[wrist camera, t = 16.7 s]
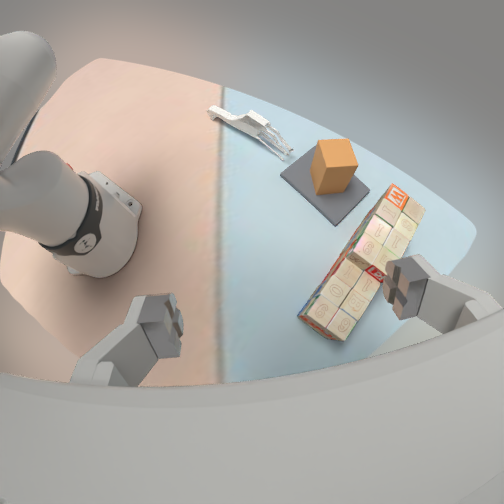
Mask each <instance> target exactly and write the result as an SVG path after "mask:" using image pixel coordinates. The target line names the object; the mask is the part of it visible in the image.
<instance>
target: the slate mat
mask: <svg viewBox="0 0 504 504" xmlns="http://www.w3.org/2000/svg"><path fill="white" fill-rule="evenodd" d="M316 146H317V145H316ZM316 146H314V147H313V148H312V149H310V150H309V151H308V152H307V153H305V154H304V155H303V156H302V157H300V158H299V159H298V160H297V161H295V162H294V163H293V164H292V165H290V166H289V167H288V168H287V169H285V170H284V171H283V172H282V173H281V174H280V176H281V177H282V178H283V179H284V180H285V181H287V182H288V183H289V184H290V185H291V186H292V187H293V188H294V189H296V190H297V191H298V192H299V193H300V194H301V195H302V196H303V197H304V198H305V199H306V200H308V201H309V202H310V203H311V204H312V205H313V206H314V207H315V208H316V209H317V210H318V211H319V212H320V213H321V214H322V215H324V216H325V217H326V218H327V219H328V220H329V221H330V222H331V223H332V224H333V225H334V226H336V225H337V224H338V223H339V222H340V221H341V220H342V219H343V218H344V217H345V216H346V215H347V214H348V213H349V212H350V211H351V210H352V209H353V208H354V207H355V206H356V205H357V204H358V202H359V201H360V200H361V199H362V198H363V197H364V196H365V195H366V194H367V193H368V192H369V191H370V189H369V188H368V187H367V186H366V185H364V184H363V183H362V182H361V181H360V180H359V179H358V178H357V177H356V176H355V175H354V174H353V176H352V178H351V180H350V182H349V183H348V185H347V187H346V189H345V190H344V192H343V193H334V194H324V195H316V193H315V189H314V185H313V181H312V177H311V174H310V168H311V164H312V161H313V157H314V153H315V150H316Z"/></svg>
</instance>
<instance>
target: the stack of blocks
mask: <svg viewBox="0 0 504 504" xmlns="http://www.w3.org/2000/svg"><path fill="white" fill-rule="evenodd" d="M424 212H425V208H423V207H422V206H421V205H420V204H419V203H417V202H416V201H415V200H414V199H413V198H412V197H409V196H408V195H407V194H406V193H405V192H404V191H402V190H401V189H400V188H398V187H397V186H396V185H394V184H393V183H392V184H391V185H390V186H389V188H388V189H387V191H386V192H385V193H384V194H383V195H382V196H381V198H380V199H379V200H378V202H377V203H376V205H375V206H374V207H373V208H372V210H370V211H369V212H368V214H367V215H366V216H365V218H364V220H363V221H362V223H361V224H360V226H359V227H358V228H357V229H356V231H355V233H354V234H353V236H352V237H351V239H350V240H349V242H348V243H347V244H346V246H345V247H344V249H343V250H342V252H341V253H340V256H339V258H338V259H337V261H336V262H335V264H334V265H333V266H332V268H331V269H330V272H329V273H328V274H327V276H326V277H325V279H324V280H323V281H322V283H321V284H320V285H319V286H318V287H317V288H316V290H315V291H314V293H313V294H312V295H311V297H310V298H309V299H308V301H307V303H306V304H305V305H304V307H303V308H302V310H301V311H300V312H299V314H298V315H297V317H298V318H299V319H301V320H302V321H303V322H305V323H306V324H307V325H309V326H310V327H312V328H313V329H314V330H315V331H317V332H318V333H319V334H321V335H322V336H324V337H325V338H327V339H334V340H338V341H345V340H346V339H347V337H348V335H349V334H350V332H351V331H352V329H353V328H354V326H355V325H356V323H357V321H359V319H360V318H361V316H362V314H363V313H364V311H365V310H366V308H367V306H368V305H369V303H370V301H371V300H372V298H373V297H374V295H375V293H376V292H377V290H378V288H379V286H380V283H383V279H384V278H385V277H386V276H387V273H386V271H385V267H386V263H387V261H390V260H395V259H401V257H402V256H403V254H404V252H405V250H406V248H407V246H408V244H409V242H410V241H411V239H412V237H413V235H414V233H415V231H416V229H417V227H418V224H419V223H420V221H421V219H422V217H423V215H424Z"/></svg>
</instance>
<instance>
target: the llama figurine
mask: <svg viewBox="0 0 504 504" xmlns="http://www.w3.org/2000/svg"><path fill="white" fill-rule="evenodd" d="M206 111H207V113H208V115H209V117H210V119H211V120H212V121H213V120H214V119H215V118H216V117H219V118H221V119H222V120H224V121H225V122H226V123H228V124H230V125H231V126H233V127H235V128H237V129H239V130H241V131H243V132H245V133H247V134H249V135H251V136H252V137H254V138H256V139H258V140H260V141H261V142H262V143H263V144H265V145H266V146H267V147H268V148H270V147H269V146H268V145H267V144H266V143H265V142H264V141H262V140H261V139H260V138H259V137H257V135H258V136H262V137H263V138H265V139H266V140H268V141H269V142H270V143H272V144H273V145H274V146H275V147H277V148H278V149H279V150H280V151H282V152H283V153H284V155H288V156H289V154H288V153H287V152H286V151H285V150H284V149H283V147H282V146H281V145H280V144H279V143H278V140H277V139H276V137H275V135H274V134H272V133H271V132H270V131H268V130H267V129H266V128H268V129H270V130H272V131H273V132H275V133H276V134H277V135H278V137H279V138H280V140H281V142H282V143H283V144H284V145H285V146H286V147H287V148H288V151H289V152H292V151H294V150H293V148H292V149H291V147H290V146H289V145H288V144H287V143H286V142H285V140H284V139H283V138H282V137H281V136H280V134H279V132H278V131H277V130H276V129H274V128H273V127H271V126H270V122H269V121H268V120H266V119H265V118H263V117H262V116H260V115H259V114H257V113H256V112H254V111H253V110H251V111H250V112H249V113H247V114H243V115H239V116H236V115H231V114H230V113H229V112H227V111H225V110H223V109H221V108H219V107H217V106H215V105H213V106H211V107H210V108H209V109H208V110H206ZM262 131H264V132H265V133H267V134H268V135H270V136H271V137H272V138H273V139H274V140H275V141H276V143H278V145H279V146H280V147H279V146H278V145H277V144H276V143H275V142H274V141H272V140H271V139H270V138H269V137H268V136H267V135H266V134H265V133H263V132H262ZM270 149H271V150H272V151H273V152H274V153H275V154H276V155H278V156H279V157H280V159H281V160H284V159H283V158H282V157H281V156H280V155H279V154H277V153H276V152H275V151H274V150H273V149H272V148H270Z"/></svg>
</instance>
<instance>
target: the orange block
mask: <svg viewBox="0 0 504 504" xmlns="http://www.w3.org/2000/svg"><path fill="white" fill-rule="evenodd" d="M357 167H358V163H357V160H356V157H355V155H354V152H353V149H352V147H351V144H350V141H349V139H330V140H318V143H317V146H316V150H315V153H314V157H313V161H312V164H311V168H310V174H311V177H312V181H313V185H314V189H315V193H316V195H324V194H334V193H343V192H344V190H345V189H346V187H347V185H348V183H349V182H350V180H351V178H352V176H353V174H354V173H355V171H356V169H357Z"/></svg>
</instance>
